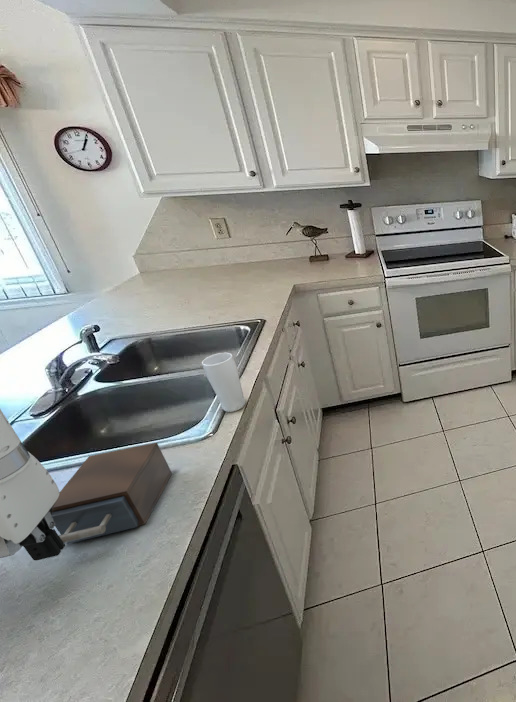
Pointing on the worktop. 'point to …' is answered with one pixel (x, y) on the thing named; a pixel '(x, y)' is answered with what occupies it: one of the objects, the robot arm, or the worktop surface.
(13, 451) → the robot arm
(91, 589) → the worktop surface
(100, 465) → the cabinet
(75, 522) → the drawer
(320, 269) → the worktop surface
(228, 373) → the drinking glass
